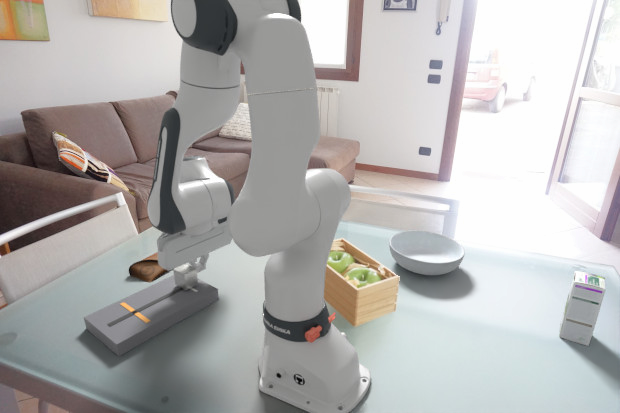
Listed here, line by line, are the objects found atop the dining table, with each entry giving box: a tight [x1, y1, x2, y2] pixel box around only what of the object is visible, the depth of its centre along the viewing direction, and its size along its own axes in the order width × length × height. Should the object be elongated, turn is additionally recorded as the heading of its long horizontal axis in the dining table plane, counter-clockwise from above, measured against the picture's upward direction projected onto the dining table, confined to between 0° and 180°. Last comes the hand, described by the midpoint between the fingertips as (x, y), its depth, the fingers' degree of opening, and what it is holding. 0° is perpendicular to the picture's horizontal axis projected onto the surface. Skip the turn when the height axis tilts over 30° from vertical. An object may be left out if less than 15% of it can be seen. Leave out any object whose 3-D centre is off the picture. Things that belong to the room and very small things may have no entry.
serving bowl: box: [388, 229, 465, 276], centre depth 118 cm, size 21×21×7 cm
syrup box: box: [559, 270, 606, 347], centre depth 89 cm, size 6×6×14 cm
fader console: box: [83, 274, 220, 357], centre depth 96 cm, size 14×26×3 cm, turn 142°
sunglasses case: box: [128, 251, 169, 283], centre depth 117 cm, size 18×7×7 cm
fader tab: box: [172, 263, 199, 290], centre depth 101 cm, size 4×4×4 cm
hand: (199, 270), depth 104 cm, fingers closed
